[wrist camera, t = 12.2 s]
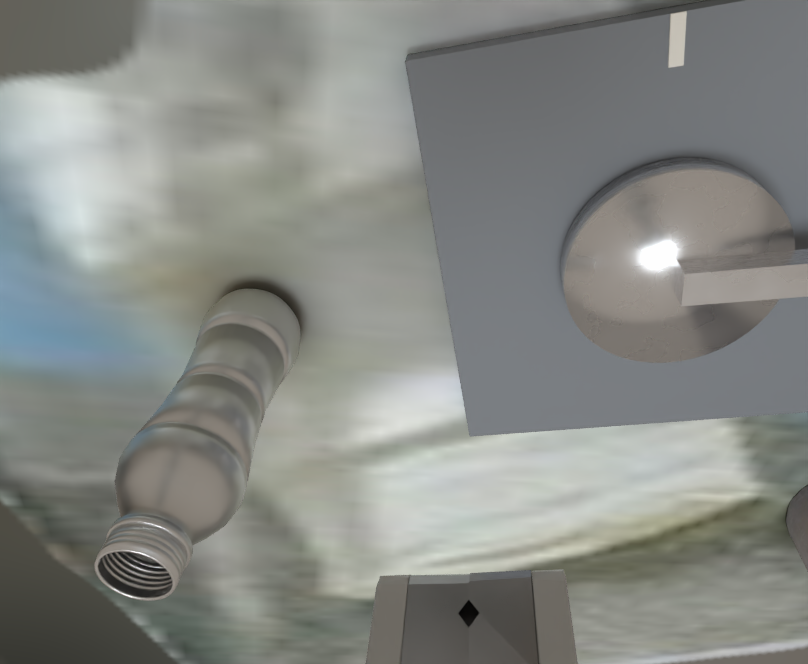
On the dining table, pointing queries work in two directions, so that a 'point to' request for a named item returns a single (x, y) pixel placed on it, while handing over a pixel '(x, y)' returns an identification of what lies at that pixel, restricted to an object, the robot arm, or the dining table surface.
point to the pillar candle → (799, 523)
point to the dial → (678, 260)
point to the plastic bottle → (198, 445)
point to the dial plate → (583, 178)
